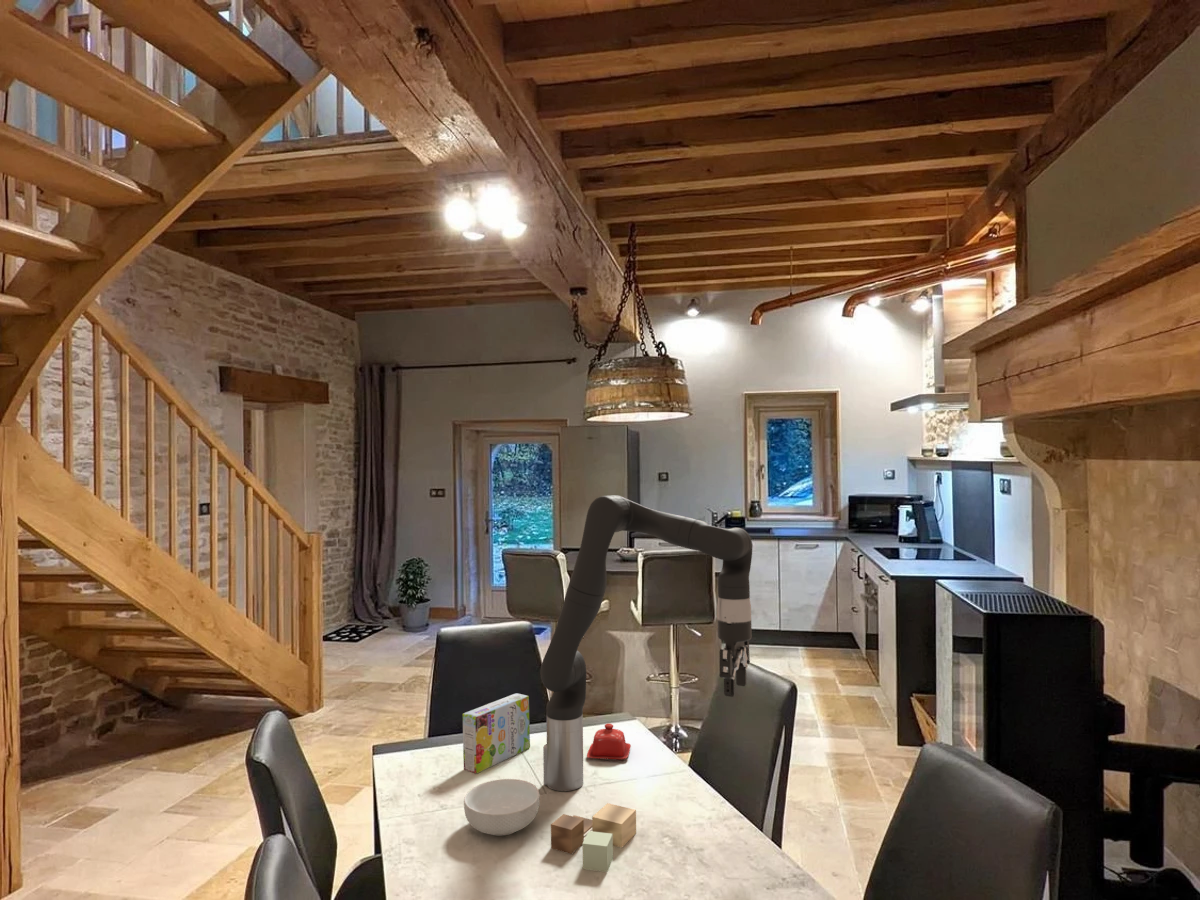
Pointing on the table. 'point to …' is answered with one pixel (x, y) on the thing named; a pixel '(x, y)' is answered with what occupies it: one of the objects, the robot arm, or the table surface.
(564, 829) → the walnut cube
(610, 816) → the oak base block
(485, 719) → the snack box
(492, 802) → the cereal bowl
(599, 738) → the butter dish
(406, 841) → the table surface
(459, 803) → the table surface
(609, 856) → the sage cube
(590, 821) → the walnut swatch
